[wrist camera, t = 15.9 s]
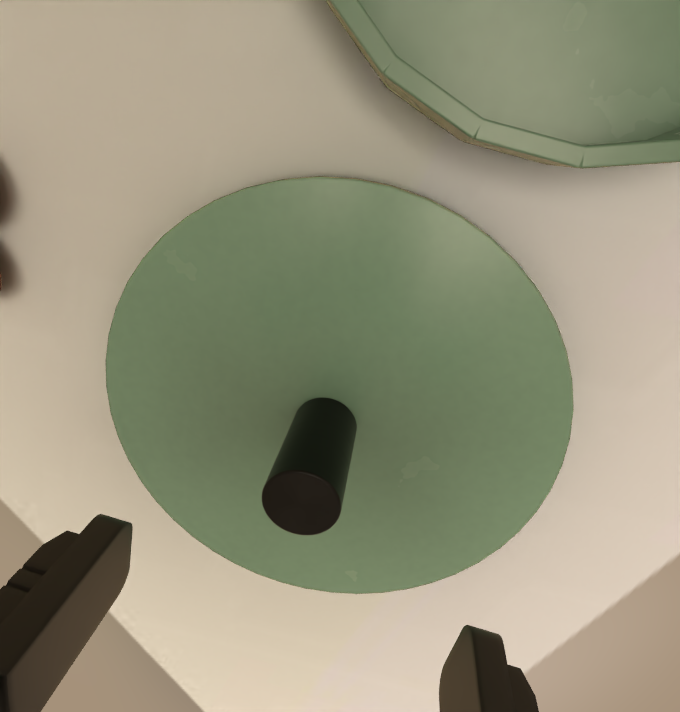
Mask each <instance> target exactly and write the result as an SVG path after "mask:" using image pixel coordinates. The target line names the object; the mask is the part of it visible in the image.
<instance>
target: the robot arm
mask: <svg viewBox="0 0 680 712" xmlns="http://www.w3.org/2000/svg"><path fill="white" fill-rule="evenodd" d="M131 541H132V524H131V523H129V522H126V521H123V520H119V519H116V518H112V517H109V516H106V515H102V514H99V515H97V516H96V517H95V518H94V519H93V520H92V521H91V522H90V523H89V524H88V525H87V526H86V527H85V529H84V530H83V531H82V532H81V533H80V534H77V533H73V532H70V531H66V532H64V533H62V534H60V535H59V536H57V537H55V538H54V539H52V540H50V541H48V542H47V543H45V544H43V545H42V546H41V547H40V548H39V549H38V550H37V551H36V552H35V553H34V554H33V556H31V558H30V559H29V560H28V561H27V562H26V563H25V564H24V565H23V568H22V569H19V570H18V571H17V573H15V574H14V575H13V576H12V577H11V579H10V580H9V581H8V583H7V585H6V586H3V587H2V588H1V589H0V712H41V710H42V709H43V707H44V706H45V704H46V703H47V701H48V700H49V698H50V697H51V695H52V694H53V692H54V691H55V689H56V688H57V686H58V685H59V683H60V682H61V680H62V679H63V677H64V676H65V674H66V673H67V671H68V670H69V668H70V667H71V665H72V664H73V662H74V661H75V659H76V658H77V656H78V655H79V654H80V652H81V651H82V649H83V648H84V646H85V645H86V643H87V642H88V640H89V639H90V637H91V636H92V634H93V633H94V631H95V630H96V628H97V626H98V625H99V623H100V622H101V621H102V619H103V618H104V616H105V614H106V613H107V612H108V610H109V609H110V607H111V606H112V604H113V603H114V601H115V600H116V598H117V597H118V595H119V594H120V592H121V590H122V588H123V586H124V584H125V581H126V579H127V576H128V572H129V568H130V555H131ZM439 704H440V712H539V711H538V706H537V702H536V697H535V694H534V693H533V691H532V689H531V687H530V685H529V684H528V682H527V680H526V678H525V676H524V674H523V672H522V670H521V669H520V668H517V667H514V666H510V665H507V660H506V655H505V649H504V644H503V640H502V638H501V636H500V635H499V634H496V633H493V632H489V631H486V630H483V629H479V628H476V627H473V626H469V625H466V626H464V627H463V629H462V631H461V633H460V635H459V637H458V639H457V641H456V642H455V644H454V646H453V648H452V650H451V652H450V654H449V656H448V658H447V660H446V662H445V664H444V666H443V669H442V673H441V678H440V686H439Z"/></svg>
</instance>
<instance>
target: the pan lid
mask: <svg viewBox="0 0 680 712" xmlns="http://www.w3.org/2000/svg"><path fill="white" fill-rule="evenodd" d="M106 387H107V393H108V399H109V405H110V411H111V415H112V418H113V421H114V425H115V428H116V431H117V435H118V437H119V440H120V442H121V444H122V446H123V449H124V451H125V453H126V455H127V458H128V460H129V461H130V463H131V465H132V467H133V468H134V470H135V472H136V473H137V475H138V477H139V478H140V480H141V482H142V483H143V484H144V486H145V487H146V488H147V490H148V491H149V492H150V494H151V495H152V496H153V498H154V499H155V500H156V501H157V503H158V504H159V505H160V506H161V507H162V508H163V509H164V510H165V511H166V512H167V513H168V514H169V515H170V516H171V518H172V519H173V520H174V521H176V522H177V523H178V524H179V525H180V526H181V527H182V528H184V529H185V530H186V531H187V532H188V533H189V534H190V535H192V536H193V537H194V538H196V539H197V540H198V541H200V542H201V543H203V544H204V545H205V546H207V547H208V548H210V549H211V550H212V551H214V552H216V553H218V554H219V555H221V556H223V557H224V558H226V559H228V560H230V561H231V562H233V563H235V564H237V565H239V566H241V567H244V568H246V569H248V570H250V571H252V572H254V573H257V574H259V575H262V576H265V577H268V578H271V579H273V580H276V581H279V582H282V583H286V584H290V585H294V586H298V587H302V588H306V589H313V590H319V591H326V592H335V593H353V594H362V593H383V592H390V591H397V590H404V589H409V588H413V587H417V586H421V585H425V584H429V583H433V582H436V581H438V580H441V579H444V578H446V577H449V576H452V575H455V574H457V573H459V572H461V571H463V570H465V569H467V568H469V567H471V566H473V565H475V564H477V563H479V562H480V561H482V560H483V559H485V558H486V557H488V556H489V555H491V554H492V553H494V552H495V551H497V550H498V549H500V548H501V547H502V546H503V545H504V544H505V543H506V542H508V541H509V540H510V539H511V538H512V537H513V536H515V535H516V534H517V533H518V532H519V531H520V530H521V529H522V528H523V527H524V525H525V524H526V523H527V522H528V521H529V520H530V519H531V517H532V516H533V515H534V514H535V513H536V512H537V510H538V509H539V507H540V506H541V504H542V503H543V501H544V499H545V498H546V496H547V495H548V493H549V492H550V490H551V488H552V486H553V484H554V482H555V480H556V478H557V475H558V473H559V471H560V469H561V467H562V464H563V461H564V457H565V454H566V450H567V446H568V443H569V439H570V433H571V425H572V417H573V387H572V376H571V371H570V366H569V361H568V356H567V351H566V348H565V345H564V342H563V340H562V337H561V334H560V332H559V329H558V326H557V324H556V321H555V319H554V317H553V315H552V313H551V312H550V310H549V308H548V306H547V304H546V303H545V301H544V299H543V297H542V295H541V294H540V292H539V290H538V289H537V288H536V286H535V285H534V284H533V282H532V281H531V280H530V279H529V277H528V276H527V275H526V273H525V272H524V271H523V270H522V268H521V267H520V266H519V264H518V263H517V262H516V261H515V260H514V259H513V258H512V257H511V256H510V255H509V254H508V253H507V252H506V251H505V250H504V249H503V248H502V247H501V246H499V245H498V244H497V243H496V242H495V241H494V240H493V239H492V238H491V237H490V236H489V235H488V234H486V233H485V232H483V231H482V230H481V229H479V228H478V227H476V226H475V225H473V224H472V223H471V222H469V221H468V220H466V219H465V218H464V217H462V216H461V215H459V214H457V213H455V212H454V211H452V210H450V209H448V208H446V207H444V206H442V205H440V204H438V203H436V202H434V201H432V200H430V199H428V198H426V197H423V196H421V195H418V194H415V193H412V192H409V191H406V190H403V189H401V188H398V187H395V186H392V185H387V184H382V183H377V182H372V181H367V180H362V179H357V178H344V177H327V176H315V177H303V178H291V179H282V180H278V181H274V182H269V183H265V184H261V185H256V186H252V187H248V188H245V189H242V190H240V191H237V192H235V193H232V194H230V195H227V196H224V197H222V198H219V199H217V200H215V201H213V202H211V203H209V204H208V205H206V206H204V207H203V208H201V209H199V210H197V211H196V212H194V213H192V214H191V215H189V216H187V217H186V218H185V219H183V220H182V221H181V222H180V223H179V224H177V225H176V226H175V227H174V228H172V229H171V230H170V231H169V232H167V233H166V234H165V235H164V236H163V237H162V238H161V239H160V240H159V241H158V242H157V243H156V244H155V246H154V247H153V248H152V249H151V250H150V251H149V252H148V253H147V254H146V256H145V257H144V258H143V259H142V261H141V262H140V264H139V265H138V267H137V268H136V270H135V271H134V273H133V274H132V276H131V278H130V279H129V281H128V282H127V284H126V287H125V289H124V291H123V293H122V296H121V298H120V300H119V302H118V305H117V307H116V310H115V313H114V317H113V321H112V324H111V328H110V332H109V337H108V345H107V354H106Z"/></svg>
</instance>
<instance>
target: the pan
mask: <svg viewBox="0 0 680 712" xmlns="http://www.w3.org/2000/svg"><path fill="white" fill-rule="evenodd" d="M326 2H327V3H328V5H329V7H330V9H331V10H332V11H333V13H334V14H335V16H336V17H337V18H338V20H339V21H340V23H341V24H342V26H343V27H344V28H345V30H346V31H347V33H348V34H349V35H350V37H351V38H352V40H353V41H354V43H355V44H356V45H357V47H358V48H359V49H360V51H361V52H362V54H363V55H364V56H365V58H366V59H367V61H368V62H369V63H370V65H371V66H372V68H373V69H374V70H375V72H376V73H377V75H378V76H379V77H380V79H381V80H382V82H383V83H384V84H385V86H386V87H387V88H388V89H389V90H390V91H391V92H393V93H394V94H396V95H397V96H399V97H400V98H401V99H403V100H404V101H406V102H407V103H408V104H410V105H411V106H413V107H414V108H415V109H417V110H418V111H420V112H421V113H422V114H424V115H425V116H426V117H428V118H429V119H430V120H432V121H433V122H435V123H436V124H437V125H439V126H441V127H442V128H443V129H445V130H446V131H448V132H449V133H451V134H452V135H453V136H455V137H456V138H458V139H459V140H461V141H463V142H465V143H469V144H473V145H476V146H480V147H484V148H487V149H491V150H495V151H498V152H501V153H505V154H510V155H513V156H517V157H521V158H524V159H528V160H532V161H535V162H539V163H543V164H546V165H555V166H564V167H573V168H596V167H611V166H626V165H641V164H657V163H672V162H680V0H326Z"/></svg>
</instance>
